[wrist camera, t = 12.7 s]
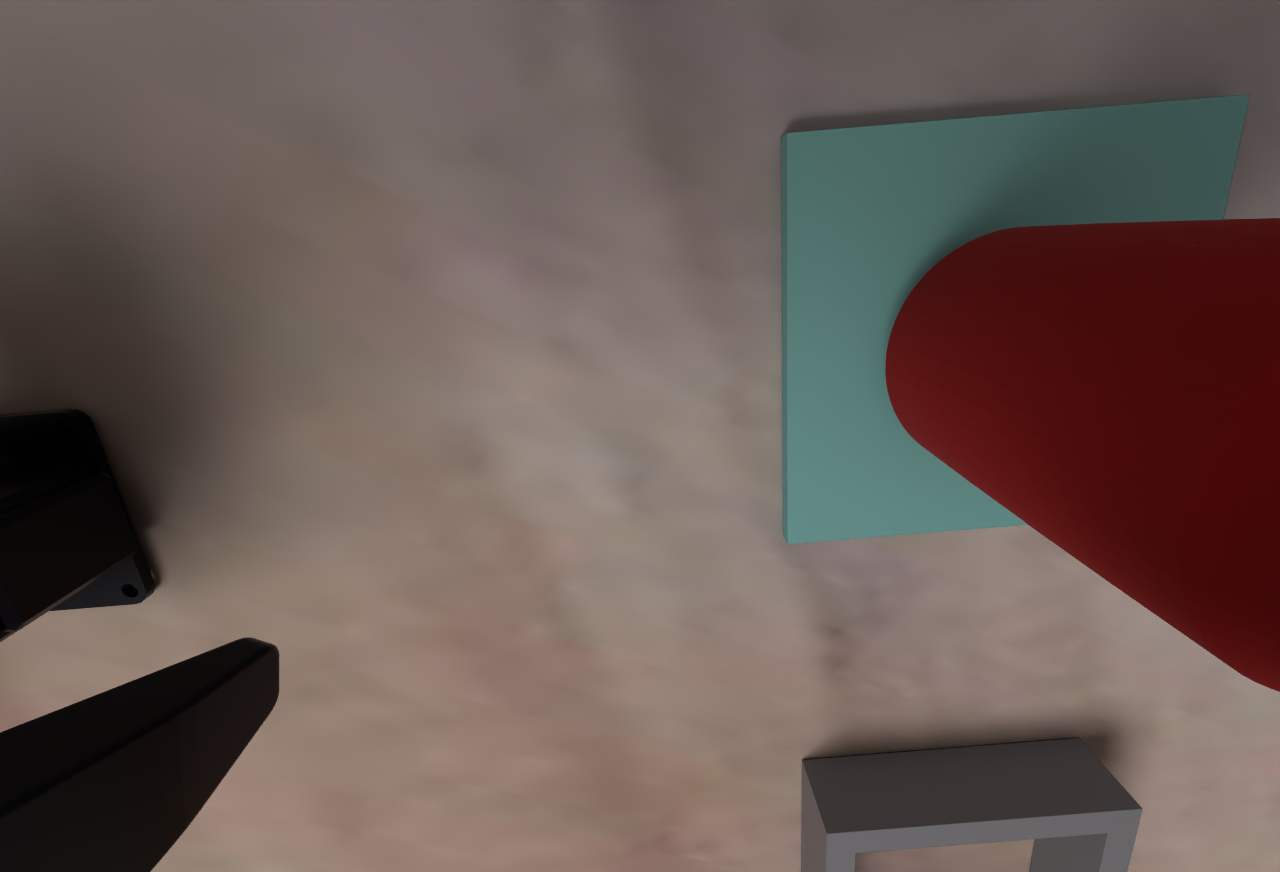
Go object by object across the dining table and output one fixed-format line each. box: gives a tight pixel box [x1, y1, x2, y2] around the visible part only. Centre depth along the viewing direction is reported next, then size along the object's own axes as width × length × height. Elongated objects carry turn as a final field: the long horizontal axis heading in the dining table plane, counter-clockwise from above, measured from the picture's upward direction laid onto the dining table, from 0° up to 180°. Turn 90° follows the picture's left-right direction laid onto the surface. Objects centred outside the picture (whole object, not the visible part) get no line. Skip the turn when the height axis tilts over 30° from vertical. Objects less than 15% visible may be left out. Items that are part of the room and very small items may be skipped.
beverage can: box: [885, 218, 1280, 692], centre depth 12 cm, size 7×7×12 cm
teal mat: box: [781, 94, 1250, 544], centre depth 18 cm, size 12×12×1 cm
